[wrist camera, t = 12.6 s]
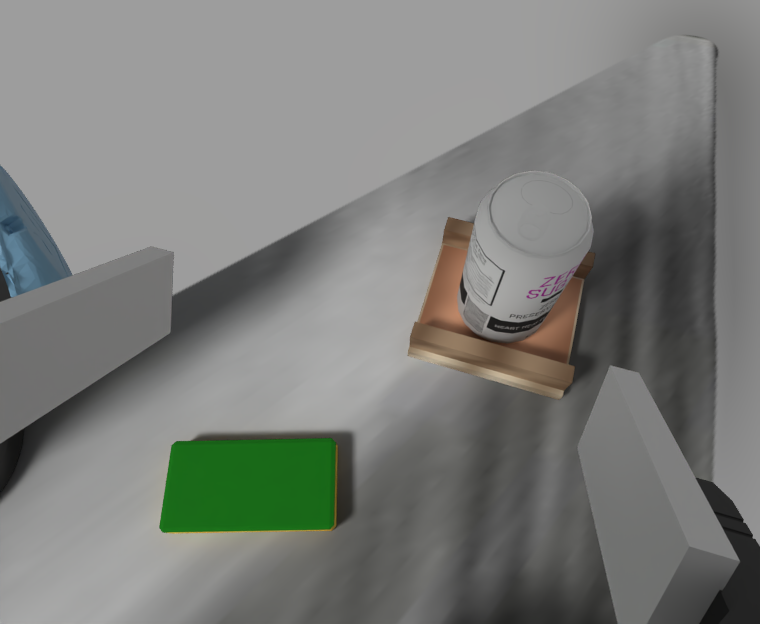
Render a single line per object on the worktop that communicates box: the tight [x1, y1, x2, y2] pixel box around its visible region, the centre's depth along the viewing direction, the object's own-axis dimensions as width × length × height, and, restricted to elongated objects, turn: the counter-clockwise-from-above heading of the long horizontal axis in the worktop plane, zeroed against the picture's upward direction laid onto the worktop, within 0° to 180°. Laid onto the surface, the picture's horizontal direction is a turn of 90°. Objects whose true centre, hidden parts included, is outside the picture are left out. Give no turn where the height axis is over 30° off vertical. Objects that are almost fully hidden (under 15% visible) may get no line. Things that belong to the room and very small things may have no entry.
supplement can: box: [457, 171, 594, 344], centre depth 43 cm, size 8×8×15 cm
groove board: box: [408, 217, 595, 400], centre depth 49 cm, size 14×14×4 cm
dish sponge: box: [159, 438, 338, 533], centre depth 44 cm, size 7×14×2 cm, turn 91°
